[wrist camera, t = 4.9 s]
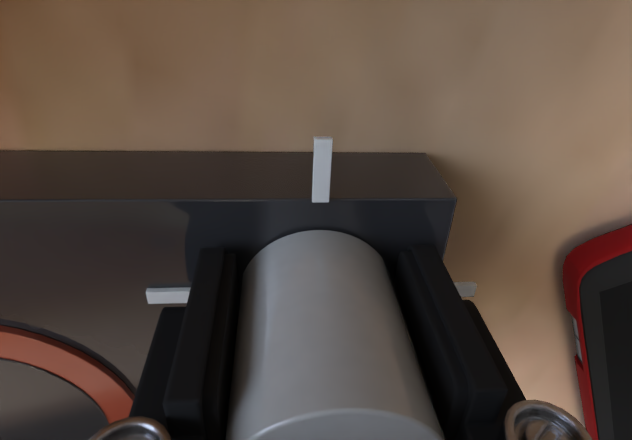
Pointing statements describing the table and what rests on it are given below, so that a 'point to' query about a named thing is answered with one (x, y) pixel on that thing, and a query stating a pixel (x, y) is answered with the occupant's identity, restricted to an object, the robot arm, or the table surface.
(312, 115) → the table surface
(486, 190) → the table surface
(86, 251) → the hob
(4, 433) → the burner rings
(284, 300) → the hob knob
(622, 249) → the cell phone
